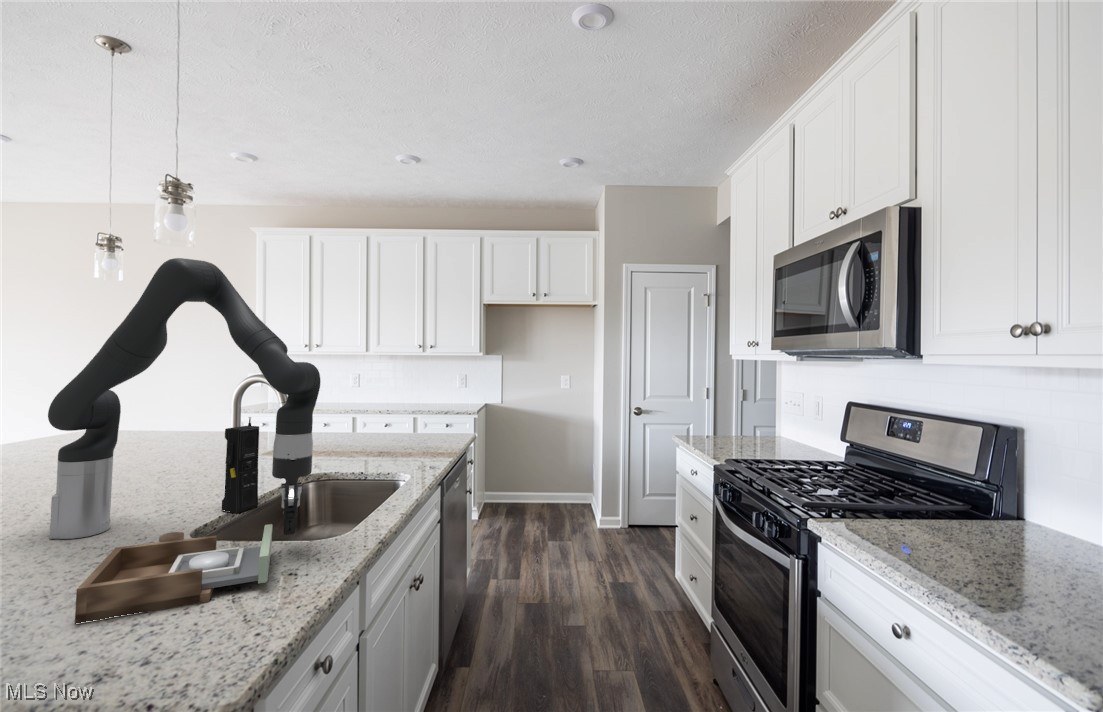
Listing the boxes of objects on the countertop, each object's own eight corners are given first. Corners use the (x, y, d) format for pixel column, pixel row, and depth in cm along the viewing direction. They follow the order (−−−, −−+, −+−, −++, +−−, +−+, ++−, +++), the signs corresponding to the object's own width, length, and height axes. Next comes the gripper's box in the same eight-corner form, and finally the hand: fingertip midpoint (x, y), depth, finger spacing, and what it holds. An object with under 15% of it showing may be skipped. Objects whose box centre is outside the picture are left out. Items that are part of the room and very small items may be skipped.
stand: (155, 565, 94) (156, 540, 94) (160, 557, 97) (161, 533, 97) (180, 561, 96) (181, 537, 96) (184, 554, 99) (185, 530, 99)
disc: (182, 575, 84) (183, 566, 84) (196, 561, 90) (197, 552, 90) (221, 572, 86) (221, 564, 86) (232, 558, 92) (233, 550, 92)
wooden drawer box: (74, 624, 73) (76, 589, 73) (114, 576, 88) (115, 547, 89) (209, 601, 81) (210, 569, 81) (223, 561, 97) (224, 534, 97)
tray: (154, 601, 77) (156, 571, 77) (178, 559, 93) (179, 534, 93) (267, 582, 85) (268, 555, 85) (271, 547, 101) (272, 524, 101)
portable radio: (236, 515, 124) (240, 421, 125) (217, 513, 126) (221, 419, 126) (260, 506, 132) (264, 417, 133) (241, 504, 133) (245, 416, 134)
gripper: (274, 449, 106) (270, 526, 106) (271, 460, 94) (267, 547, 94) (311, 447, 110) (307, 521, 109) (313, 458, 98) (309, 541, 98)
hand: (289, 533), depth 102 cm, fingers closed
